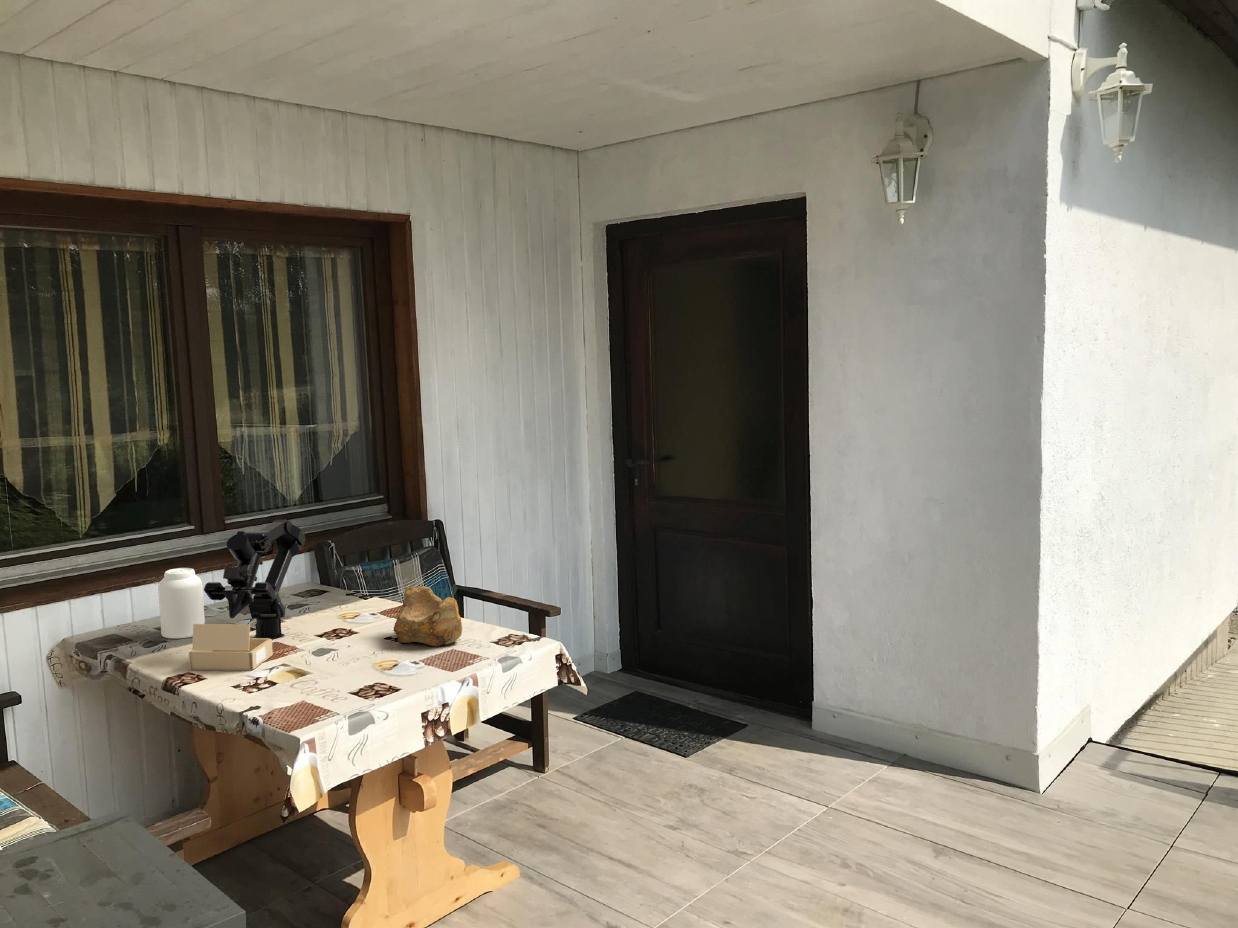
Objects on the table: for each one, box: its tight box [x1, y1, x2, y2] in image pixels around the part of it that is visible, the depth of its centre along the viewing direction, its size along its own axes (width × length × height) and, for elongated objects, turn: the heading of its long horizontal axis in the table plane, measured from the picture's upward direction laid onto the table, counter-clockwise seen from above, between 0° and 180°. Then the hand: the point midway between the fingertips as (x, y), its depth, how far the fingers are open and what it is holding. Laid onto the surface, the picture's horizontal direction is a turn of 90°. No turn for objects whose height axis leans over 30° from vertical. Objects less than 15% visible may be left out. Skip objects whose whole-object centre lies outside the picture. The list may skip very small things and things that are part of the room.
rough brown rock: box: [393, 585, 463, 648], centre depth 292 cm, size 23×16×15 cm
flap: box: [191, 623, 251, 651], centre depth 268 cm, size 1×16×7 cm, turn 86°
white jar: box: [157, 567, 206, 640], centre depth 303 cm, size 12×12×20 cm
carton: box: [188, 637, 274, 671], centre depth 275 cm, size 14×18×5 cm
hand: (231, 617), depth 274 cm, fingers closed
